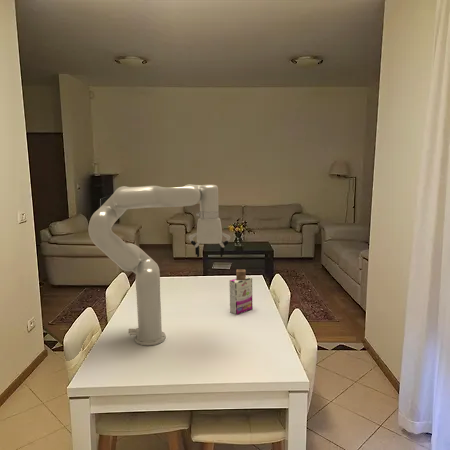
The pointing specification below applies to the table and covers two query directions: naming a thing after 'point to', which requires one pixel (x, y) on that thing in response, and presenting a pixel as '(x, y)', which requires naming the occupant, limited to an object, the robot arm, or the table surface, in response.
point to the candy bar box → (240, 295)
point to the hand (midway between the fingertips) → (209, 256)
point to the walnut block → (240, 274)
